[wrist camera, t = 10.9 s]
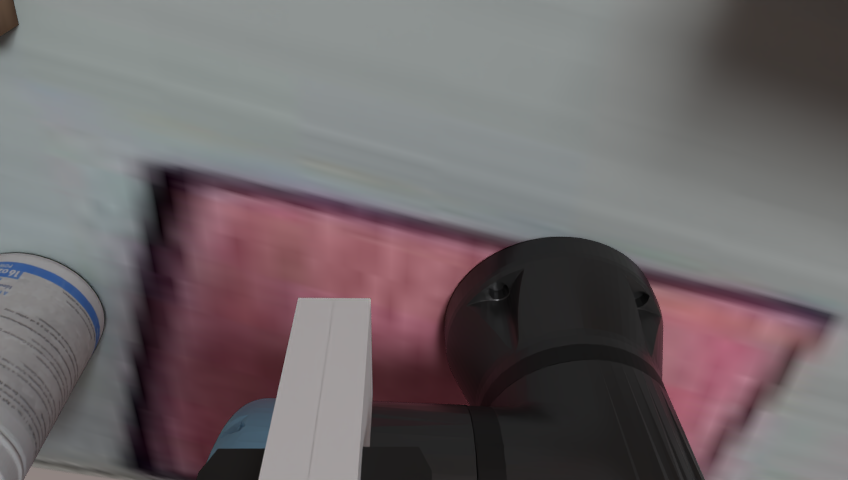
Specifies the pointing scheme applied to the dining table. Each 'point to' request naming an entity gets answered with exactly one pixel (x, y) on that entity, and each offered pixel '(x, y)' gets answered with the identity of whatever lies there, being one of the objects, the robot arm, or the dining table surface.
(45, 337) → the supplement tub
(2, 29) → the guide channel
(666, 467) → the robot arm
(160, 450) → the dining table surface
